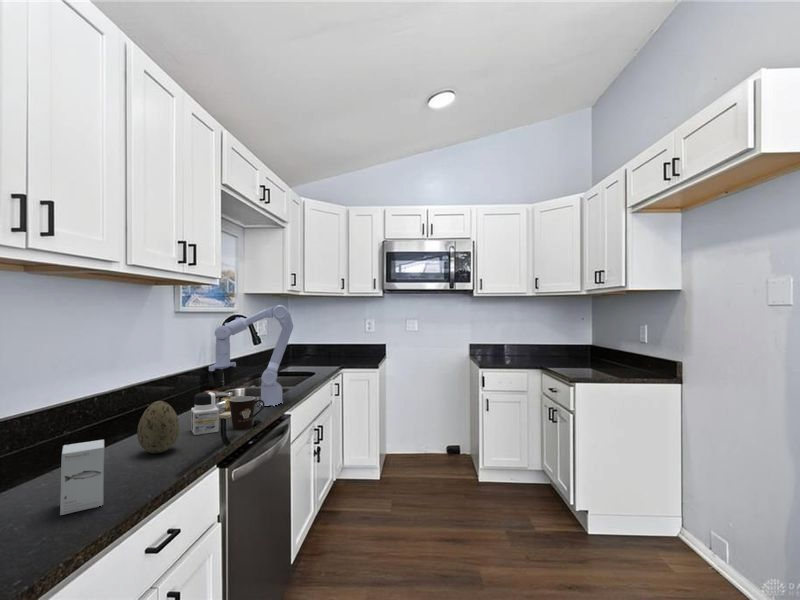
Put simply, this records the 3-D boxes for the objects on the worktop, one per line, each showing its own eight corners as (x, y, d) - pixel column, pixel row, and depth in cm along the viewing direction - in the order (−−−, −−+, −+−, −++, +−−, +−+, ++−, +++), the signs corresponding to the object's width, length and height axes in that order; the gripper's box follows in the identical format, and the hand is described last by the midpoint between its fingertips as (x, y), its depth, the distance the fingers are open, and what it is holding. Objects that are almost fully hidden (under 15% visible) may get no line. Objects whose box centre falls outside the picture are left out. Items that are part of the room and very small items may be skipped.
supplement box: (59, 517, 85) (60, 453, 85) (61, 503, 91) (62, 444, 91) (104, 506, 89) (104, 446, 89) (103, 494, 95) (104, 438, 95)
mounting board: (226, 407, 180) (226, 404, 180) (252, 409, 176) (252, 406, 176) (198, 416, 164) (198, 413, 164) (226, 418, 161) (226, 415, 161)
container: (194, 435, 139) (194, 396, 140) (190, 430, 146) (191, 392, 146) (219, 431, 144) (219, 393, 144) (214, 426, 150) (215, 390, 150)
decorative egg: (138, 461, 115) (139, 406, 116) (135, 451, 124) (136, 400, 124) (182, 453, 122) (182, 401, 122) (176, 444, 130) (176, 395, 131)
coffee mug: (227, 431, 144) (227, 402, 144) (230, 425, 152) (230, 397, 152) (263, 428, 147) (263, 400, 147) (264, 422, 155) (264, 395, 155)
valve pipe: (236, 405, 178) (236, 392, 178) (245, 406, 177) (245, 393, 177) (211, 414, 163) (211, 400, 164) (220, 414, 162) (220, 400, 162)
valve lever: (233, 395, 171) (233, 392, 171) (230, 396, 169) (230, 393, 169) (208, 393, 175) (208, 390, 175) (204, 394, 173) (204, 391, 173)
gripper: (226, 351, 187) (226, 382, 187) (202, 355, 174) (202, 388, 173) (240, 352, 185) (239, 383, 185) (217, 355, 172) (216, 389, 171)
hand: (222, 385), depth 179 cm, fingers open, 5 cm apart
